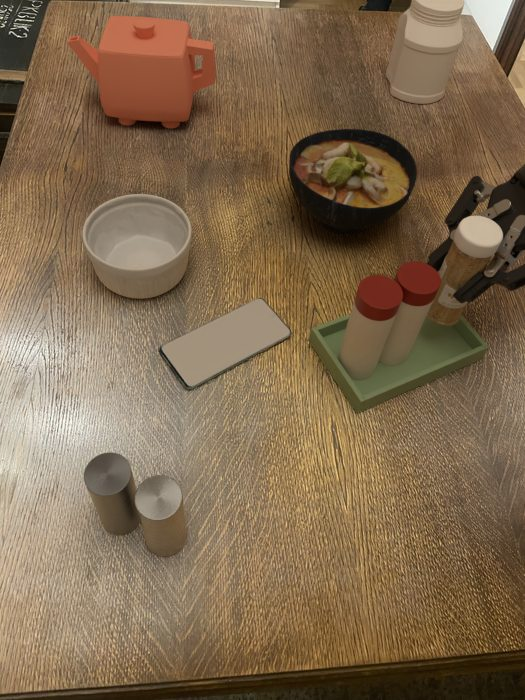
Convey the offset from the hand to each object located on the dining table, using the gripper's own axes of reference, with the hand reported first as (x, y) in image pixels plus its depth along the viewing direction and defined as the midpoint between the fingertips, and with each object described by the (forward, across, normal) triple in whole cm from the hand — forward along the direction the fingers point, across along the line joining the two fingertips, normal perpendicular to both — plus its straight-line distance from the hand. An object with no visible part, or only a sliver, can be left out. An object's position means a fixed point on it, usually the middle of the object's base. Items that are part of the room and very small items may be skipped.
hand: (444, 283), depth 66 cm
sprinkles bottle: (+3, 0, +6) cm, 7 cm away
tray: (+10, 0, +5) cm, 11 cm away
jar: (-16, -48, +31) cm, 59 cm away
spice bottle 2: (+10, 0, +4) cm, 11 cm away
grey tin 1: (+36, +6, -21) cm, 42 cm away
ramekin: (+26, -25, -11) cm, 38 cm away
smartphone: (+23, -9, -8) cm, 26 cm away
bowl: (+5, -24, +10) cm, 26 cm away
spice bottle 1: (+14, 0, 0) cm, 14 cm away
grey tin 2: (+34, +9, -19) cm, 40 cm away
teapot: (+17, -58, -2) cm, 60 cm away
